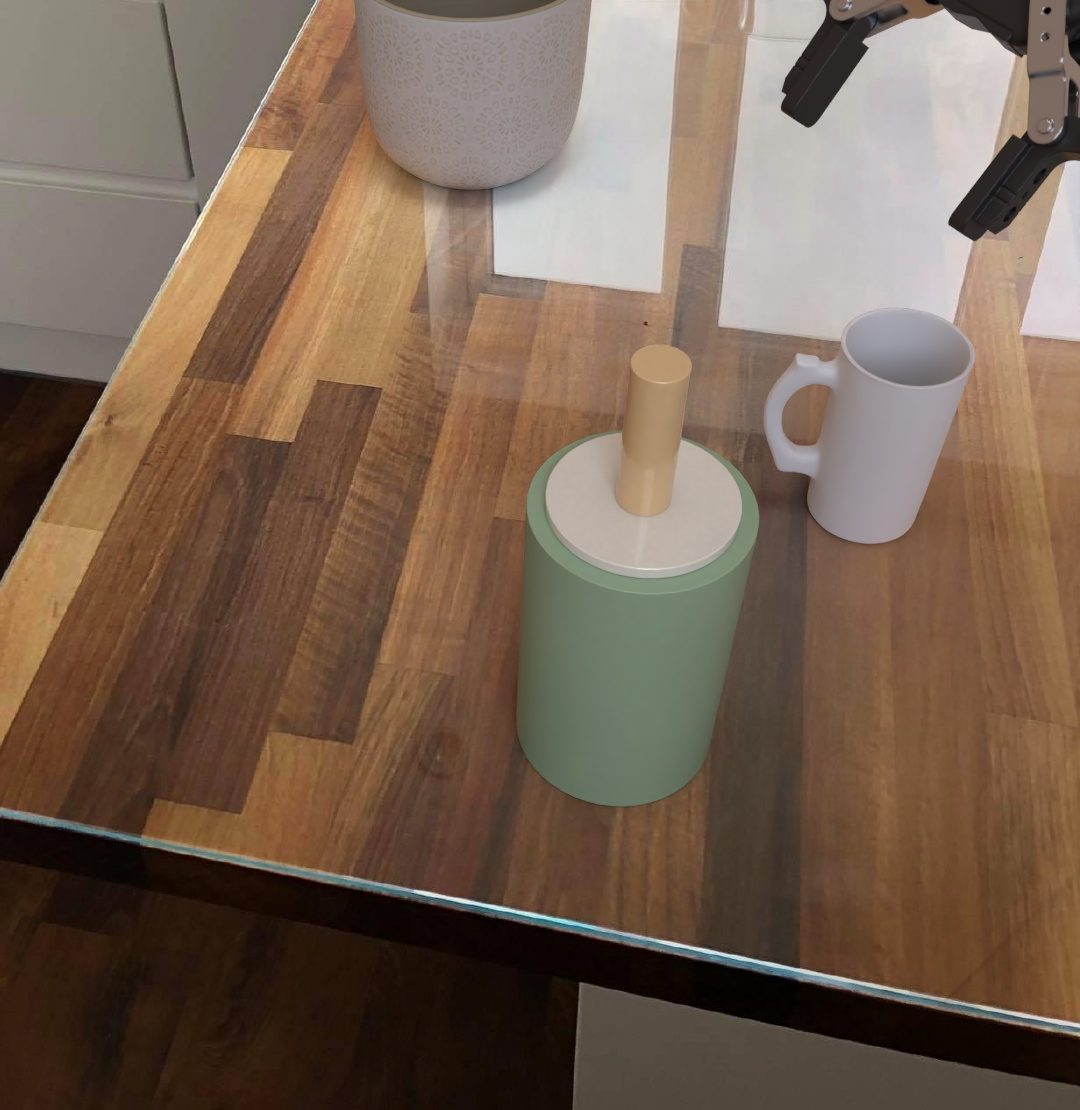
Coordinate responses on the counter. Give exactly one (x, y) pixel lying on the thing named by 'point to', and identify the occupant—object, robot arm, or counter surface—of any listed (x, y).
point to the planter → (472, 84)
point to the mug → (875, 420)
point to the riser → (623, 660)
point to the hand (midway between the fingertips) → (875, 174)
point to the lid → (646, 483)
